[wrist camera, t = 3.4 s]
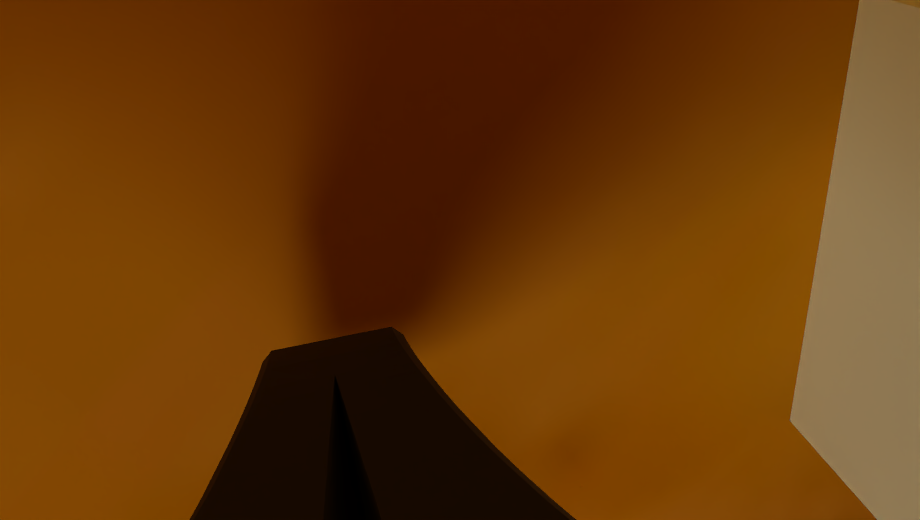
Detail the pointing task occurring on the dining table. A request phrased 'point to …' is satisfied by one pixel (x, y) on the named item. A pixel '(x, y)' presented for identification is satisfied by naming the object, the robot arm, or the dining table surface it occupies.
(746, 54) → the dining table surface
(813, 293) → the block
